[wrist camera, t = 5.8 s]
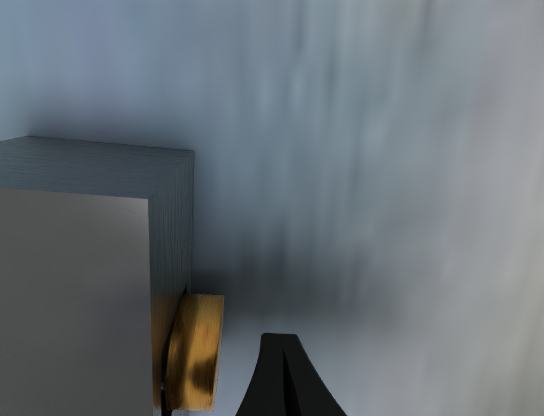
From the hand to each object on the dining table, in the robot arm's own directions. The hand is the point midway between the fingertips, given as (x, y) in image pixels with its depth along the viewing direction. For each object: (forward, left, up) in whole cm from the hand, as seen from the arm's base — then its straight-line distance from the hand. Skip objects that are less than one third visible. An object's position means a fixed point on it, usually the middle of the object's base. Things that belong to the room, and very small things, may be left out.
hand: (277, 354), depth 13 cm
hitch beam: (+7, 0, -3) cm, 7 cm away
